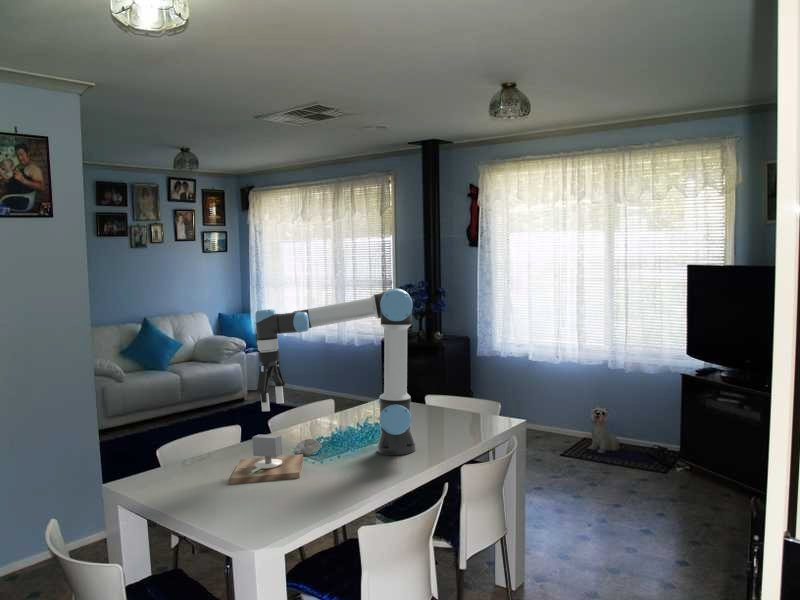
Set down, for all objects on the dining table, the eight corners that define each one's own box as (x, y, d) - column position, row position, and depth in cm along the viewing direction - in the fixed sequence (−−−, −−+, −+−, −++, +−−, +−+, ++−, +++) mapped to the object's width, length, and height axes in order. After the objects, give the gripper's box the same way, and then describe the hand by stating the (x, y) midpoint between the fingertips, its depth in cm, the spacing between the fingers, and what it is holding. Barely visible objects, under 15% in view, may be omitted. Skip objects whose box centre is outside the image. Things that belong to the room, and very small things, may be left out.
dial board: (303, 459, 248) (303, 453, 248) (299, 477, 224) (299, 471, 224) (241, 464, 246) (240, 459, 246) (230, 484, 222) (230, 477, 222)
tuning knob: (265, 460, 242) (263, 432, 241) (287, 461, 238) (285, 433, 238) (241, 472, 228) (238, 442, 228) (264, 473, 224) (262, 443, 224)
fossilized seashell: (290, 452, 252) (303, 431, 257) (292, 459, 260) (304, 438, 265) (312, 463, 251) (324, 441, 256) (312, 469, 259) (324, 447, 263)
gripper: (272, 347, 250) (276, 400, 250) (244, 355, 225) (249, 414, 226) (290, 346, 248) (294, 399, 249) (264, 354, 224) (269, 414, 224)
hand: (273, 407), depth 237 cm, fingers open, 13 cm apart
